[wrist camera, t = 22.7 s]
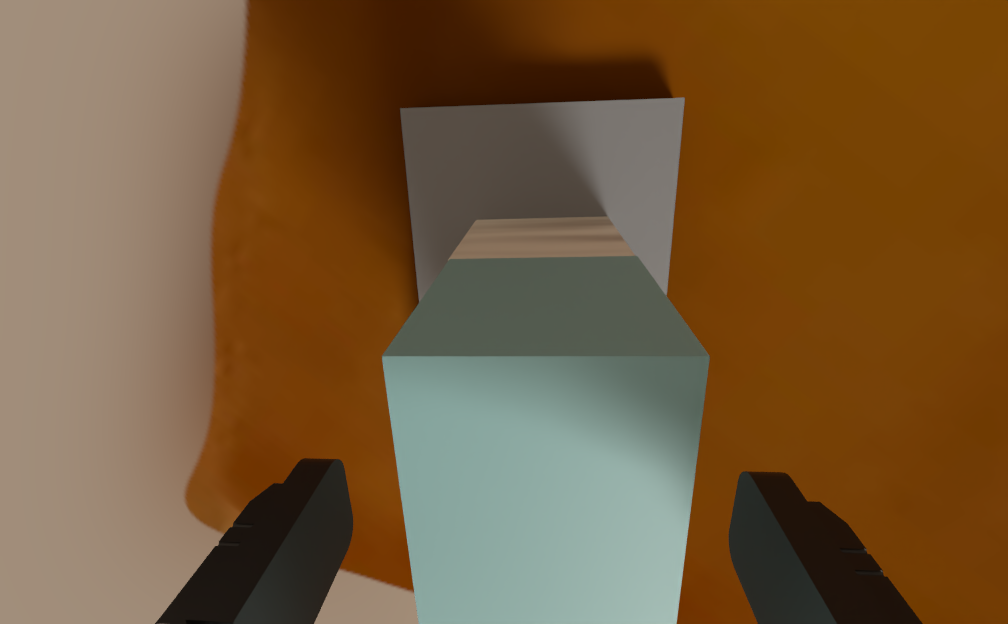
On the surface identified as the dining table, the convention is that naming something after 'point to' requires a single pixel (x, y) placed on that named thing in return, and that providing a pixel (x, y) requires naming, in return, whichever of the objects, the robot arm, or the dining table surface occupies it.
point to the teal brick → (546, 442)
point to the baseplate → (543, 172)
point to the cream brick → (542, 238)
